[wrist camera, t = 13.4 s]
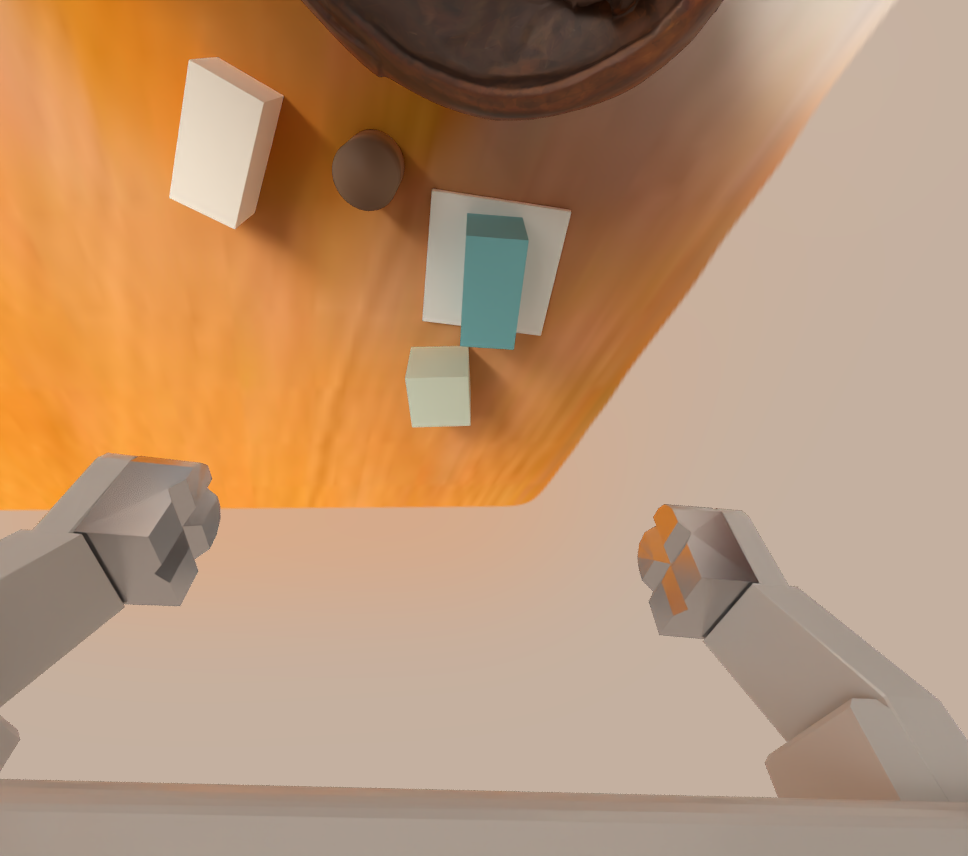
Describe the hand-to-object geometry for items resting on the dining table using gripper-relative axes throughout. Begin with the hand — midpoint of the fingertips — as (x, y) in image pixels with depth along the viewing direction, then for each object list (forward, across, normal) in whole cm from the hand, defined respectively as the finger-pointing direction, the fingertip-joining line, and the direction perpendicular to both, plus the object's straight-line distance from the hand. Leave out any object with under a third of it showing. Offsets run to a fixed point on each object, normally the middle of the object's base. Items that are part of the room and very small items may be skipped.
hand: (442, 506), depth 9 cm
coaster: (+31, -3, +7) cm, 32 cm away
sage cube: (+29, 0, +14) cm, 32 cm away
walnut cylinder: (+31, +6, +1) cm, 32 cm away
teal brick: (+30, -3, +7) cm, 31 cm away
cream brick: (+31, +15, +1) cm, 35 cm away
